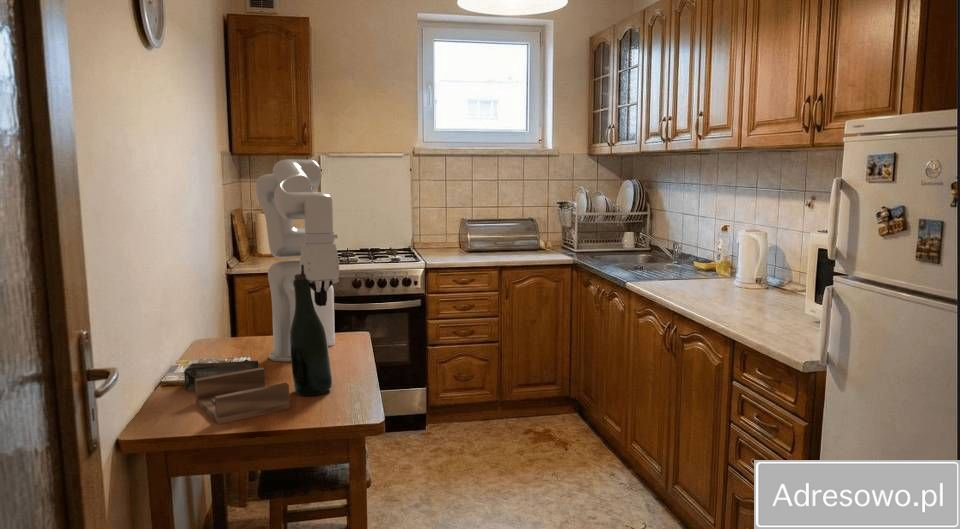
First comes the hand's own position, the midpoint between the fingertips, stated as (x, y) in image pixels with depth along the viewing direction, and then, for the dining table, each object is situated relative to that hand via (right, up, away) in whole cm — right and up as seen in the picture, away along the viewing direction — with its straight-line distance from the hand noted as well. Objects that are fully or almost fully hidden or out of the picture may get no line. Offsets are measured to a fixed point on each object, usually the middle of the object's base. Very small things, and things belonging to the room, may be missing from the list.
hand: (320, 305), depth 190 cm
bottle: (-11, -17, +52) cm, 55 cm away
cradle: (-18, -26, -10) cm, 33 cm away
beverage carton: (-30, -24, +7) cm, 39 cm away
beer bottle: (-2, -24, +2) cm, 24 cm away
